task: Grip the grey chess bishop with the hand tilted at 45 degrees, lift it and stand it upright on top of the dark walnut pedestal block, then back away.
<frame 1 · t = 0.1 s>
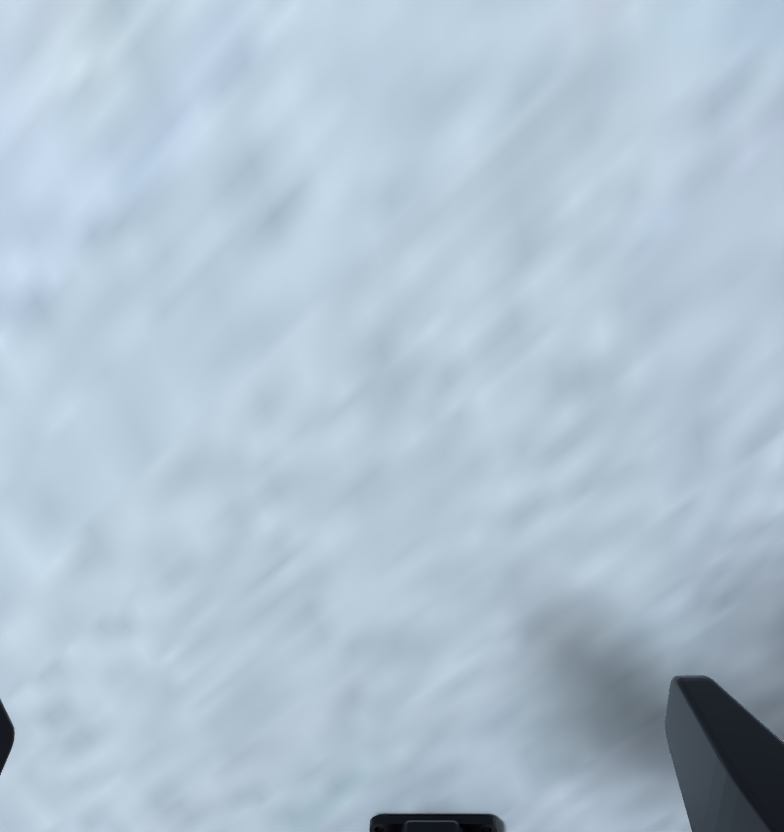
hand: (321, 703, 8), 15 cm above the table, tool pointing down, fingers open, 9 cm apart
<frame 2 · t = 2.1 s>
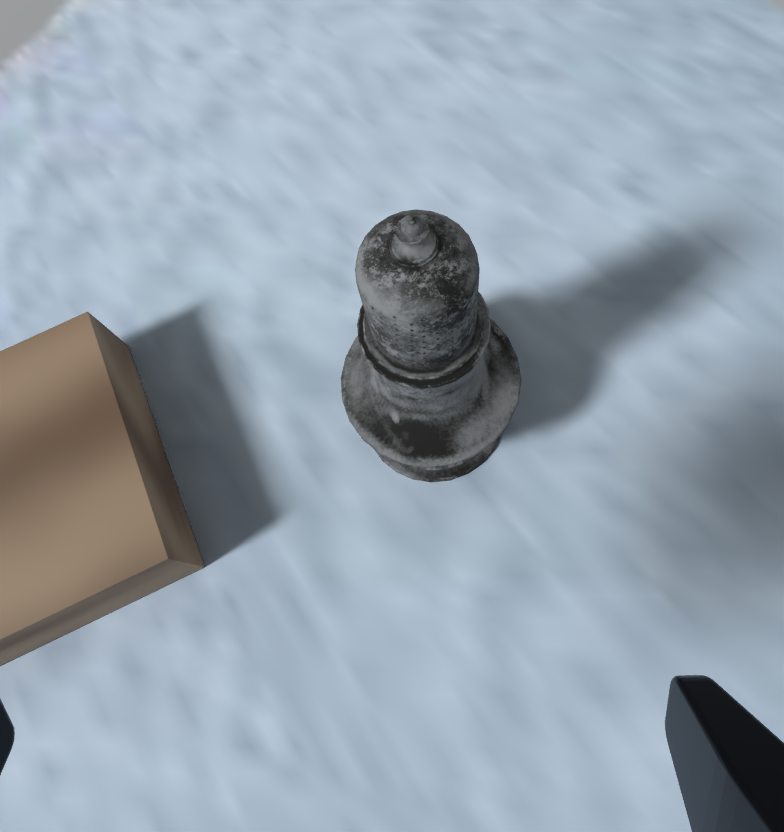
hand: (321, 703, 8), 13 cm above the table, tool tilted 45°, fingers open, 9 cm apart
walnut pedestal: (45, 504, 24), on the table
grey chess bishop: (433, 415, 24), on the table
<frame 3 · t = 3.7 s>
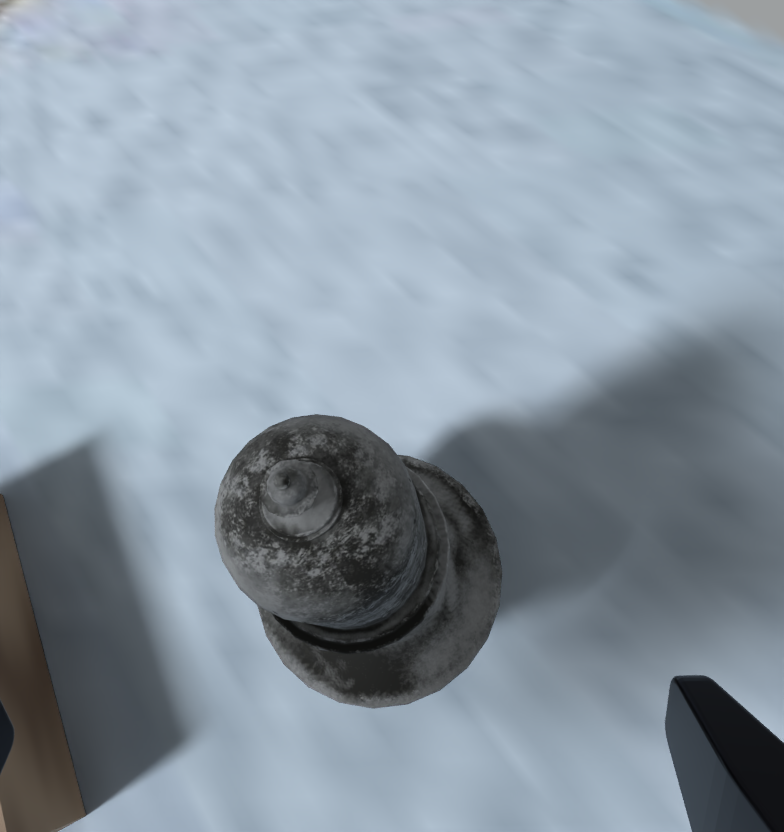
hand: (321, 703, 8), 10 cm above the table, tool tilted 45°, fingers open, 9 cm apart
grey chess bishop: (392, 586, 18), on the table
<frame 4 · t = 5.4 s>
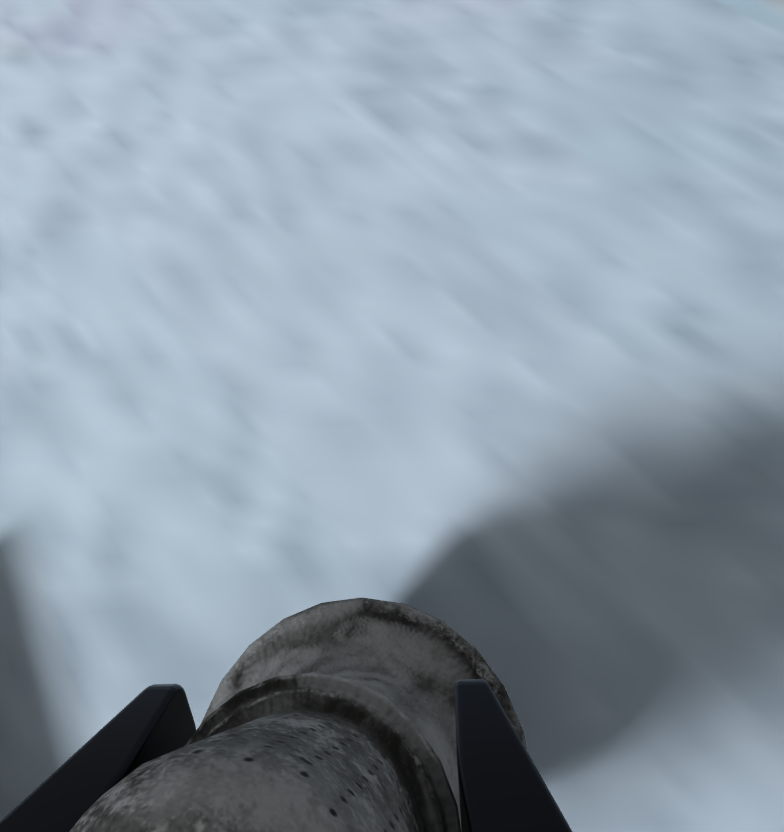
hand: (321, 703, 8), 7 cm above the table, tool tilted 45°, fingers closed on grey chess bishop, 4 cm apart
grey chess bishop: (382, 743, 14), on the table, touching gripper
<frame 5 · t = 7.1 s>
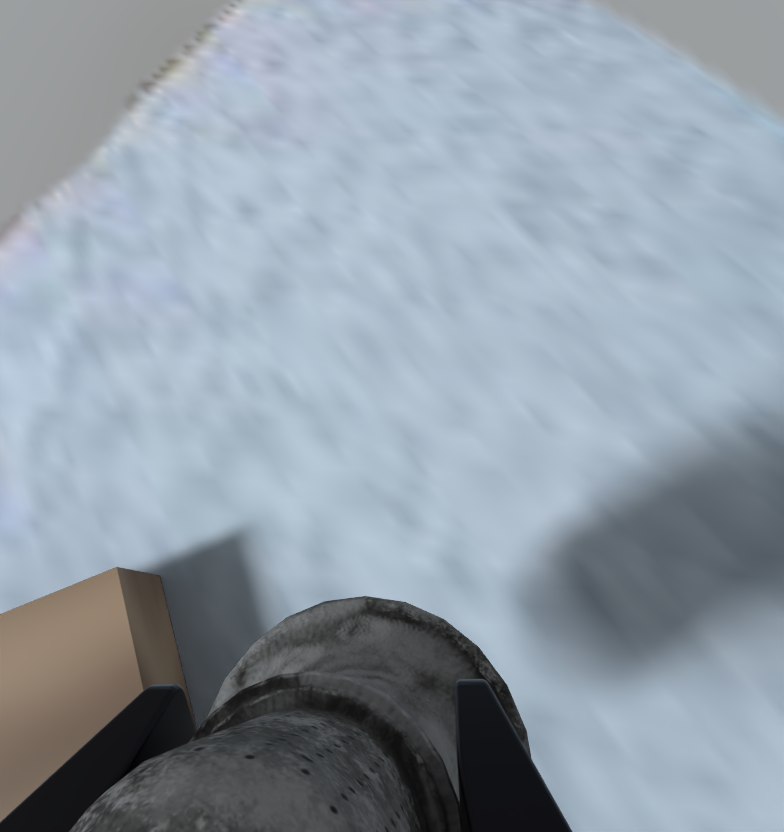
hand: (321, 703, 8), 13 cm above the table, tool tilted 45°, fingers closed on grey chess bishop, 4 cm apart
walnut pedestal: (52, 776, 20), on the table
grey chess bishop: (385, 742, 14), point 6 cm above the table, touching gripper
when the fingers open (11 cm above the table, at t = 8.9 s): grey chess bishop drops 1 cm, resting on walnut pedestal.
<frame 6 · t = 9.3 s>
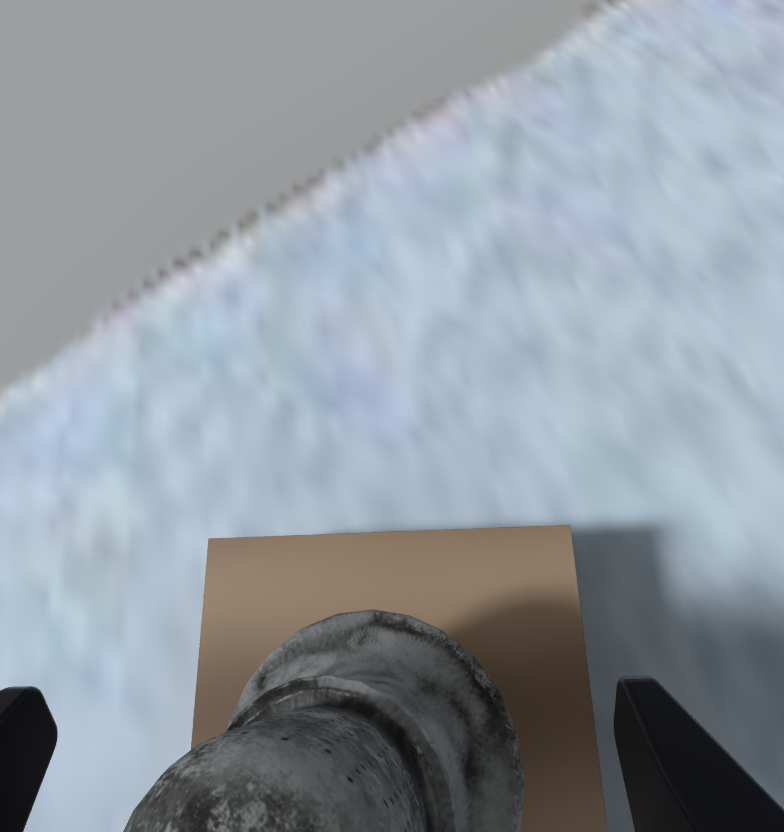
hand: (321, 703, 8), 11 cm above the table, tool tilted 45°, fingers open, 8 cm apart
walnut pedestal: (398, 720, 18), on the table
grey chess bishop: (390, 743, 15), point 3 cm above the table, touching walnut pedestal
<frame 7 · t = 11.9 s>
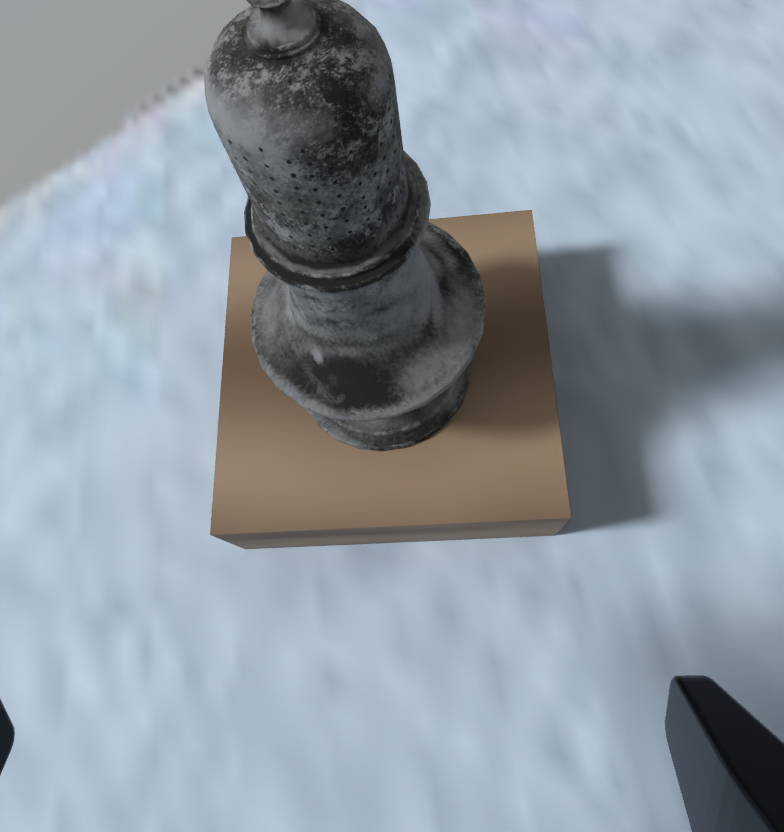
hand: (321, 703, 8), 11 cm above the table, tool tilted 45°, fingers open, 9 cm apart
walnut pedestal: (392, 397, 21), on the table
grey chess bishop: (384, 369, 19), point 3 cm above the table, touching walnut pedestal
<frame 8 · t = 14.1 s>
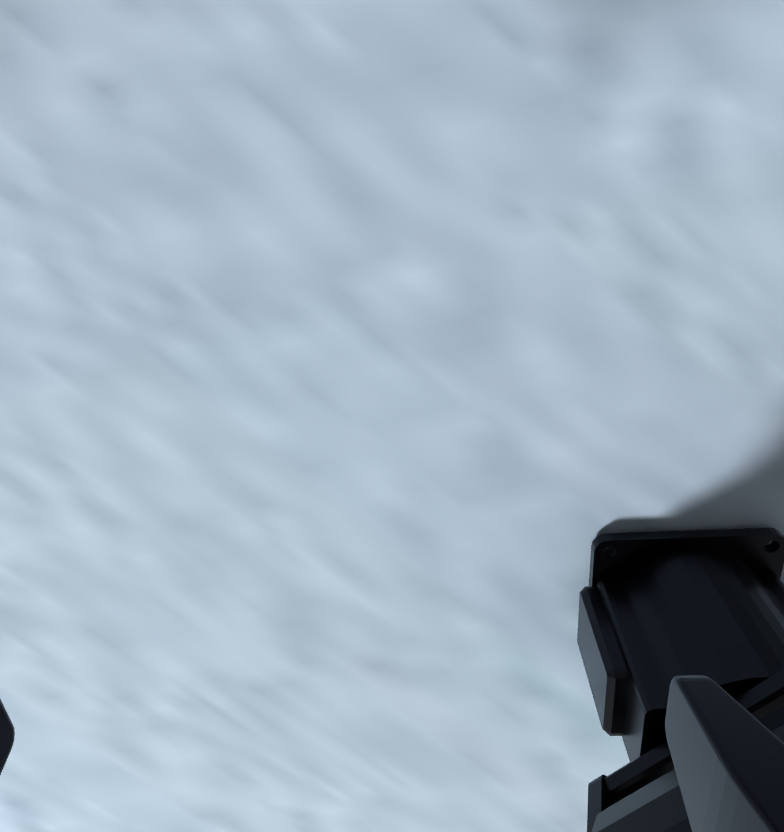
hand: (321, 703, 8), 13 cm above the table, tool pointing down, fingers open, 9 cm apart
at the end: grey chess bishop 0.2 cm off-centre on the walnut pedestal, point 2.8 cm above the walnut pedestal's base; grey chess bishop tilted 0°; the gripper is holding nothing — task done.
